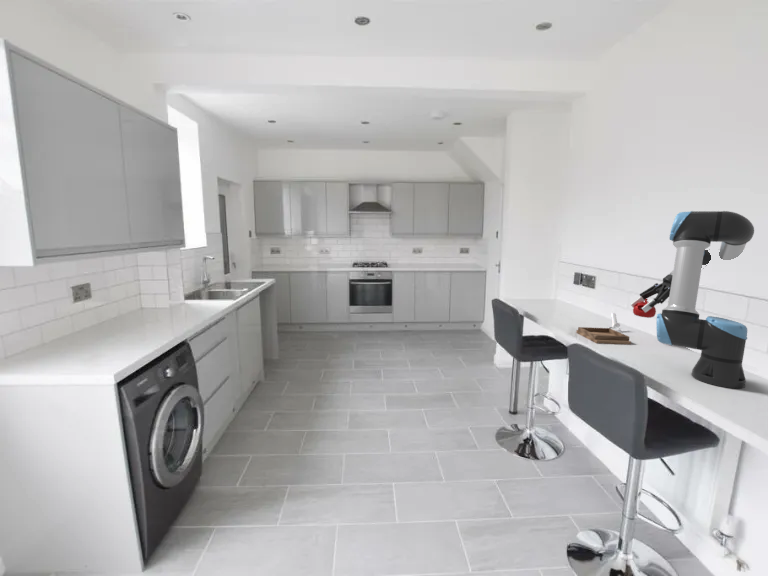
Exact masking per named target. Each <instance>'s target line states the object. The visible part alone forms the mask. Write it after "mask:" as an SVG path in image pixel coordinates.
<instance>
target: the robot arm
mask: <svg viewBox="0 0 768 576" xmlns="http://www.w3.org/2000/svg"><path fill="white" fill-rule="evenodd" d="M754 234H755V226H754V224H753V223H752V222H751V220H749V219H748V218H747V217H745V216H744V215H742V214H740V213H737V212H734V211H728V210H726V211H725V210H723V211H719V210H718V211H717V210H716V211H714V210H712V211H706V210H705V211H699V210H698V211H694V210H691V211H681V212H679V213H677V214H676V216H675V218H674V219H673V222H672V226H671V229H670V233H669V240H670V241H672V246H674V248H676V252H675V258H674V265H673V270H672V271H671V272H669V273H668V274H667V275H666V276H664V277H663V278H662V282H661V283H658V282H656V283H654V284H653V285H652V286H650V287H649V288H647V289H646V290H644V291H642V292H641V293H639V297H638V298H637V299H635V300H634V301H633V302H632V303H630V306H631V307H632V308H634V306H635V304H637V303H639V302H640V301H641V302H642V301H644V302H645V299H648V298H651V297H652V296H654V295H656V297H654V298H653V299H652V300H650V301H648V302H649V303H648V304H646V305H645V306H644V307H642V310H643V311H644V312H647V311H648V310H650V309H651V308H652V307H655V306H656V305H659V304H661V305H662V304H663V303H664V302H666V300H667V299H668V303H667V306H666V307H664V308H663V309H661V312H659V313H656V339H657V341H658V342H659V343H661V344H664V345H669V346H675V347H679V348H680V347H681V348H688V349H691V350H698V351H701V352H700V357H699V359H698V360H697V361H696V364H695V365H694V366H693V368H692V370H691V377H692V378H694V379H695V380H698V381H700V382H703V383H706V384H710V385H712V386H713V385H714V386H716V387H717V386H718V387H722V388H728V389H742V388H743V389H744V388H745V387H746V382H747V379H746V376H745V372H744V368H743V361H744V355H745V349H746V344H747V343H746V341H747V340H748V327H747V326H746V324H744V323H741V322H738V321H735V320H732V319H728V318H725V317H724V318H723V317H719V316H718V317H717V316H711V315H710V316H709V315H708V316H707V317H706V318H705V319H701V318H700V313H699V312H698V311H697V310H696V306H697V300H698V295H699V294H698V293H699V287H700V279H701V275H702V274H701V273H702V270H701V268H702V265H706V264H708V263H709V261H710V260H711V255H710V253H709V252H708V250H705V249H708V248H709V247H711V242H716V243H718V242H719V243H720V242H721V244H720V248H719V250H720V252H719V256H720V258H721V259H723V260H731V259H734V258H736V257H738V256H739V255H740V254H741V253H742V252H743V250H744V251H745V248H746V245H747V243H749V242H751V240H752V238H753V236H754ZM706 266H707V265H706Z"/></svg>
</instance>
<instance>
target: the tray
mask: <svg viewBox="0 0 768 576" xmlns="http://www.w3.org/2000/svg"><path fill="white" fill-rule="evenodd" d="M575 333H576V334H577V335H579V336H582V337H584V338H586V339H587V340H589V341H591V342H594V343H595V344H603V345H604V344H607V345H608V344H609V345H610V344H611V345H631V344H632V341H631V340H630V336H629V335H626V334H624V333H622V332H621V333H620V332H617V331H615V330H613V329H610V328H607V327H584V326H583V327H582V326H578V329H576V332H575Z"/></svg>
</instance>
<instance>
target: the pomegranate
mask: <svg viewBox="0 0 768 576" xmlns="http://www.w3.org/2000/svg"><path fill="white" fill-rule="evenodd" d="M649 302H650V301H648V298H646V299H645V301H642V302H641V301H640V302H639V303H637V304H635V306H634V308H633V307H632V308H633V309H632V313H633V314H634V316H635V317H636V316H637V317H640V318H648V319H649V318H650V319H651V318H654V317H655V315H657V309H656V307H655V306H654V307H652V308H651V309H650V310H648V311H647V312H644V311H643V310H642V307H644V306H645V305H646V304H648V303H649Z"/></svg>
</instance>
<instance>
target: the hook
mask: <svg viewBox="0 0 768 576" xmlns="http://www.w3.org/2000/svg"><path fill="white" fill-rule="evenodd" d="M610 315H611V320H612V321H611V322H612V323H611V326H608V327H606V328H610V329H613V330H615V331H617V332H620V333H622V330H621V329H622V328H620V326H621V324H620V323H619V322H618V320H617V315H616V313H615V312H611V313H610Z"/></svg>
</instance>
